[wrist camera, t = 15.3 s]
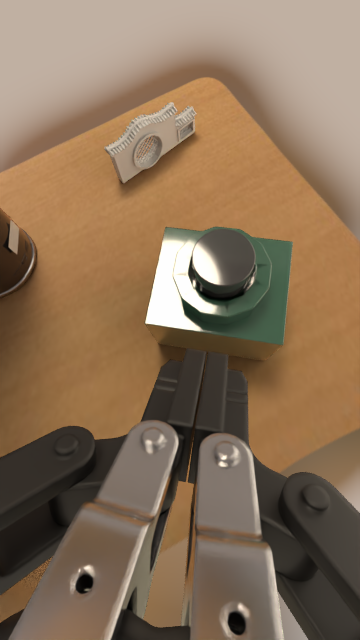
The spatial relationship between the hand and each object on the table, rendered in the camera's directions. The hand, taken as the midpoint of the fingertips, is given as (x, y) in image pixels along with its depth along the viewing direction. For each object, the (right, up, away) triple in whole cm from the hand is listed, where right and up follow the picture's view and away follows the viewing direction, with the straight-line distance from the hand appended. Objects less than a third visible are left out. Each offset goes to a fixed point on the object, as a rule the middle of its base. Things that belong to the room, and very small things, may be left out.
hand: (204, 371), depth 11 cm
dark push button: (+2, +6, +13) cm, 14 cm away
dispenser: (+3, +3, +22) cm, 22 cm away
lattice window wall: (-4, +22, +28) cm, 36 cm away
